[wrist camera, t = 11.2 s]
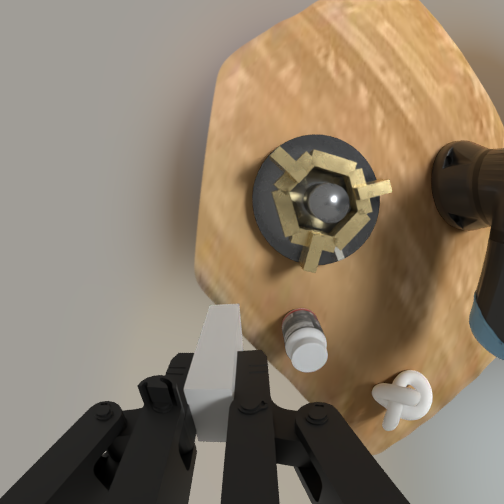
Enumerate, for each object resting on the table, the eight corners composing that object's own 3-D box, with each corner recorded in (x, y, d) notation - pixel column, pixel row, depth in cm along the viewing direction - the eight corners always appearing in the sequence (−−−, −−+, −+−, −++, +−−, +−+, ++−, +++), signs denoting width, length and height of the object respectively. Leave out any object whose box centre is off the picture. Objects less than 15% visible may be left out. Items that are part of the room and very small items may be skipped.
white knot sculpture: (419, 351, 45) (441, 377, 36) (420, 391, 48) (438, 417, 39) (366, 376, 46) (382, 407, 37) (374, 413, 49) (387, 442, 40)
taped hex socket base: (272, 142, 36) (274, 136, 31) (381, 174, 36) (396, 174, 32) (247, 249, 39) (246, 257, 35) (354, 273, 40) (365, 284, 35)
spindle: (329, 180, 38) (345, 180, 31) (335, 212, 39) (352, 218, 32) (297, 186, 39) (307, 187, 31) (304, 219, 40) (315, 227, 32)
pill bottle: (319, 334, 44) (333, 370, 34) (285, 342, 44) (291, 380, 35) (314, 302, 43) (329, 334, 33) (278, 311, 43) (283, 346, 33)
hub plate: (361, 128, 36) (365, 126, 35) (383, 246, 40) (387, 249, 39) (239, 150, 38) (238, 149, 36) (268, 274, 42) (269, 278, 40)
